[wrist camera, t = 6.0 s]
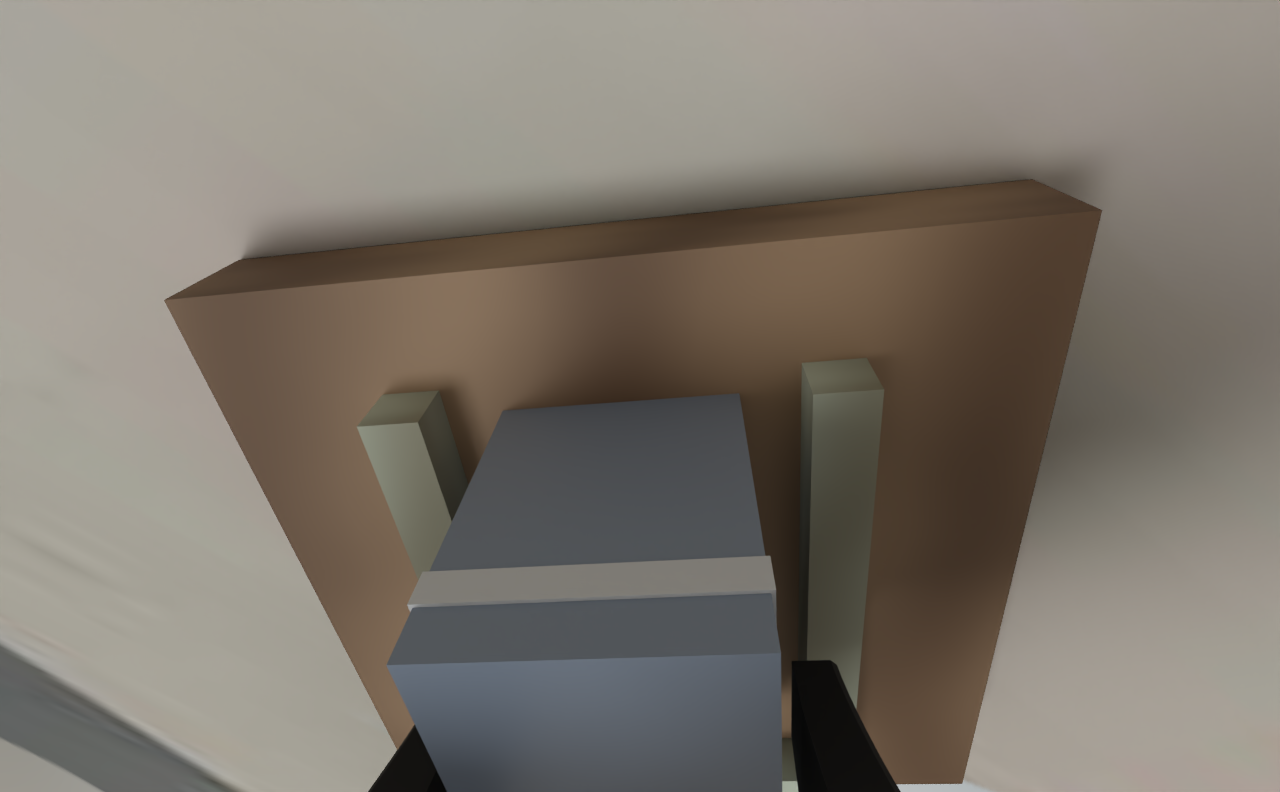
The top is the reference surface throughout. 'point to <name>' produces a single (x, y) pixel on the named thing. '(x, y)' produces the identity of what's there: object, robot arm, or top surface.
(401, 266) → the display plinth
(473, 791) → the blue-grey lidded box
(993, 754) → the top surface
